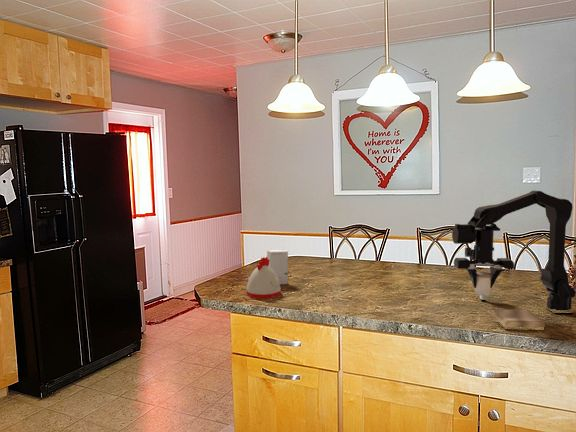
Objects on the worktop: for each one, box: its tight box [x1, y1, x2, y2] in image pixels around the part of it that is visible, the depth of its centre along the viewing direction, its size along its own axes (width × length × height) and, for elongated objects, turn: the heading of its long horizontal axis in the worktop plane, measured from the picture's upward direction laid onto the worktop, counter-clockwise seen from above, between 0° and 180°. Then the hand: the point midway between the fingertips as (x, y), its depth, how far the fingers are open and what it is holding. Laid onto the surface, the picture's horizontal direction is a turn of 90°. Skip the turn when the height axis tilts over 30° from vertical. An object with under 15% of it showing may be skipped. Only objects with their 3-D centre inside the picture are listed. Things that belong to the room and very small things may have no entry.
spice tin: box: [474, 271, 491, 296], centre depth 163 cm, size 5×5×7 cm
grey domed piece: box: [246, 256, 282, 299], centre depth 190 cm, size 14×14×15 cm
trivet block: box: [490, 309, 546, 328], centre depth 151 cm, size 12×12×3 cm
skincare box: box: [266, 249, 289, 286], centre depth 206 cm, size 8×6×15 cm
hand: (482, 287), depth 163 cm, fingers closed on spice tin, 5 cm apart
